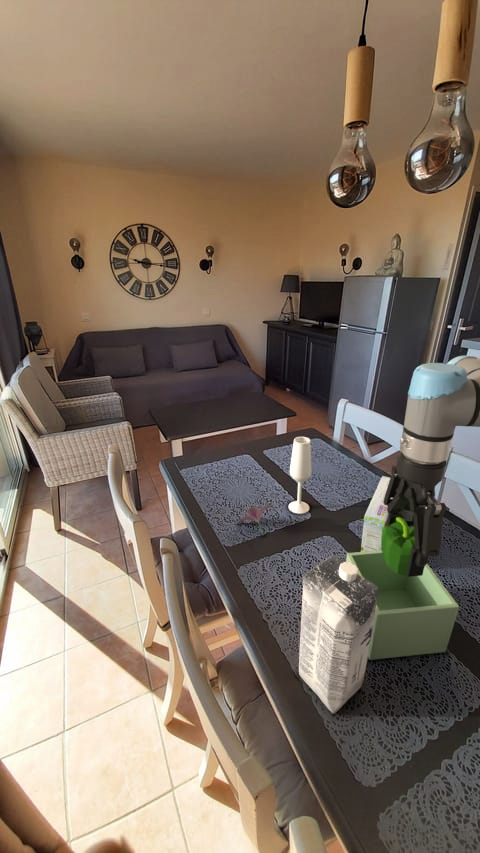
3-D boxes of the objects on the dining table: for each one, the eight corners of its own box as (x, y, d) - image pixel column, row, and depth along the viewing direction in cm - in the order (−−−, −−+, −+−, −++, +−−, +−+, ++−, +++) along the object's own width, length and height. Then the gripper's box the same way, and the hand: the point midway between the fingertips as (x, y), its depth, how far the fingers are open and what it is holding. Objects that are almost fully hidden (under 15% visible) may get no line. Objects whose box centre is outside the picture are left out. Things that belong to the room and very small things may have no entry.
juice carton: (334, 725, 61) (349, 612, 50) (291, 673, 69) (296, 566, 58) (367, 691, 65) (387, 581, 55) (323, 646, 73) (333, 542, 62)
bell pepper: (431, 581, 68) (441, 539, 64) (387, 581, 68) (394, 540, 64) (412, 549, 75) (420, 510, 71) (372, 549, 76) (378, 511, 72)
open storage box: (406, 588, 86) (414, 547, 81) (445, 652, 72) (459, 606, 66) (342, 594, 85) (346, 553, 80) (369, 660, 71) (377, 614, 65)
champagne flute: (286, 511, 114) (288, 443, 104) (290, 499, 120) (292, 434, 110) (308, 515, 112) (312, 446, 102) (310, 502, 118) (314, 436, 108)
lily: (280, 521, 111) (269, 492, 111) (282, 533, 99) (270, 501, 99) (243, 534, 112) (233, 505, 112) (241, 547, 100) (229, 515, 100)
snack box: (375, 517, 110) (381, 474, 104) (394, 522, 108) (402, 479, 101) (357, 562, 94) (363, 515, 88) (379, 570, 91) (388, 522, 85)
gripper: (374, 430, 71) (362, 523, 80) (437, 491, 52) (411, 604, 61) (411, 428, 72) (394, 520, 81) (487, 487, 52) (454, 600, 61)
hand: (402, 556), depth 71 cm, fingers closed on bell pepper, 8 cm apart
